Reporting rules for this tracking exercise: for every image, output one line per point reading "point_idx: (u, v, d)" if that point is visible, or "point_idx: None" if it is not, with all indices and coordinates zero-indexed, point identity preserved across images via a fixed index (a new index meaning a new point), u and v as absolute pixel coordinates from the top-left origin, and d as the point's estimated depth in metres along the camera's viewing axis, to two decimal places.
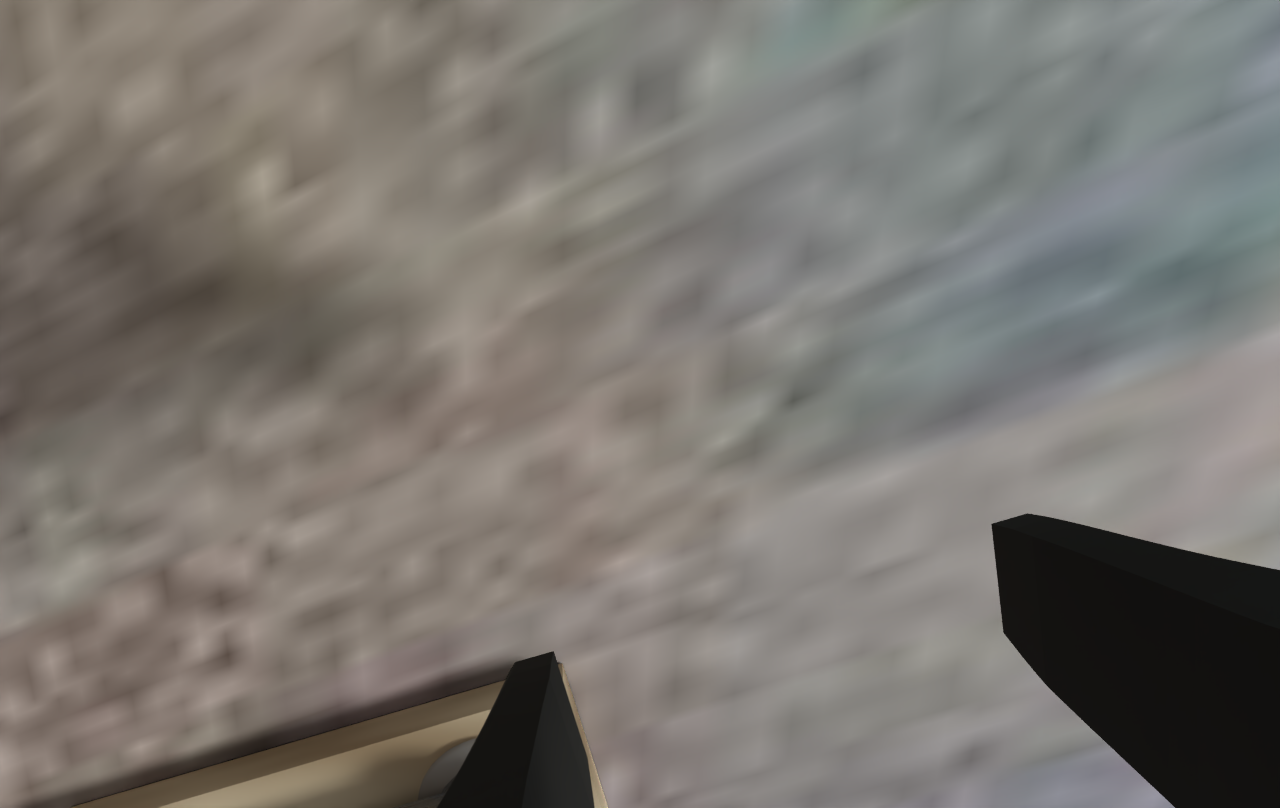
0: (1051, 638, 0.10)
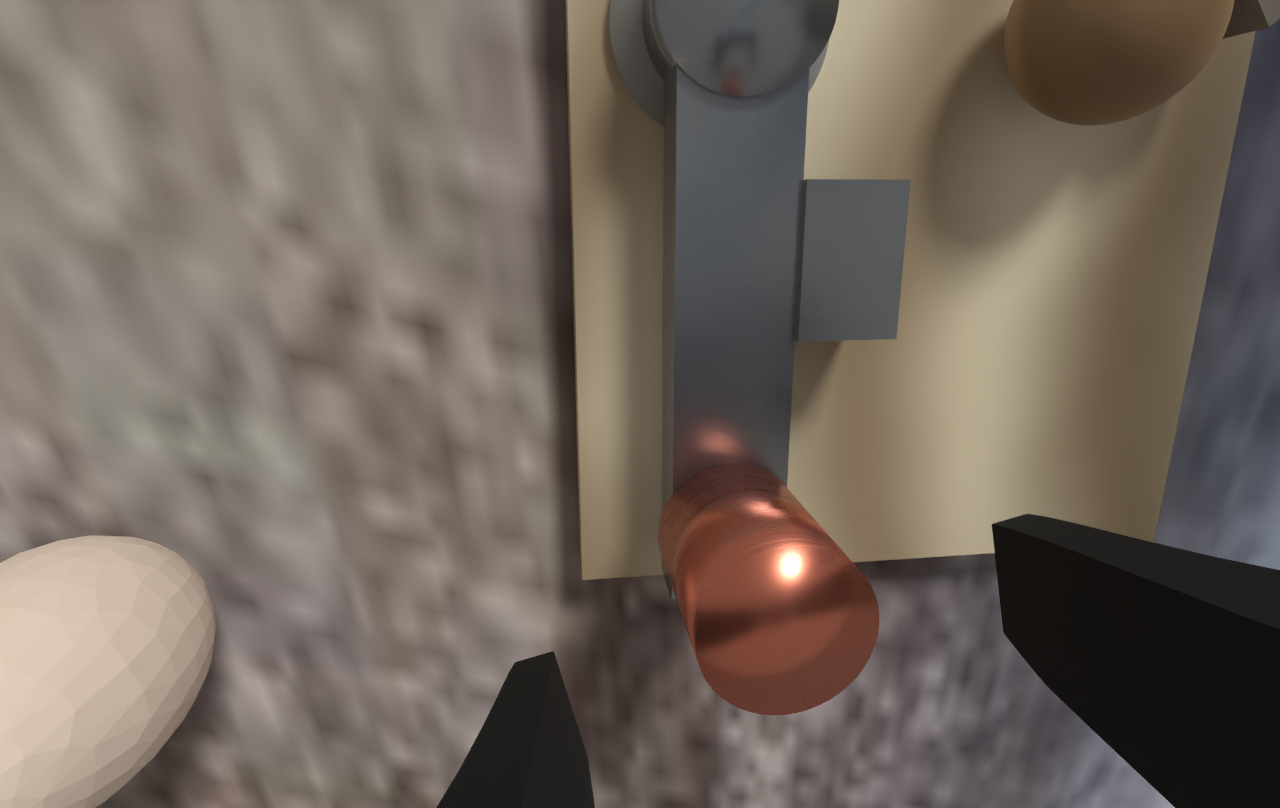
0: (1051, 638, 0.10)
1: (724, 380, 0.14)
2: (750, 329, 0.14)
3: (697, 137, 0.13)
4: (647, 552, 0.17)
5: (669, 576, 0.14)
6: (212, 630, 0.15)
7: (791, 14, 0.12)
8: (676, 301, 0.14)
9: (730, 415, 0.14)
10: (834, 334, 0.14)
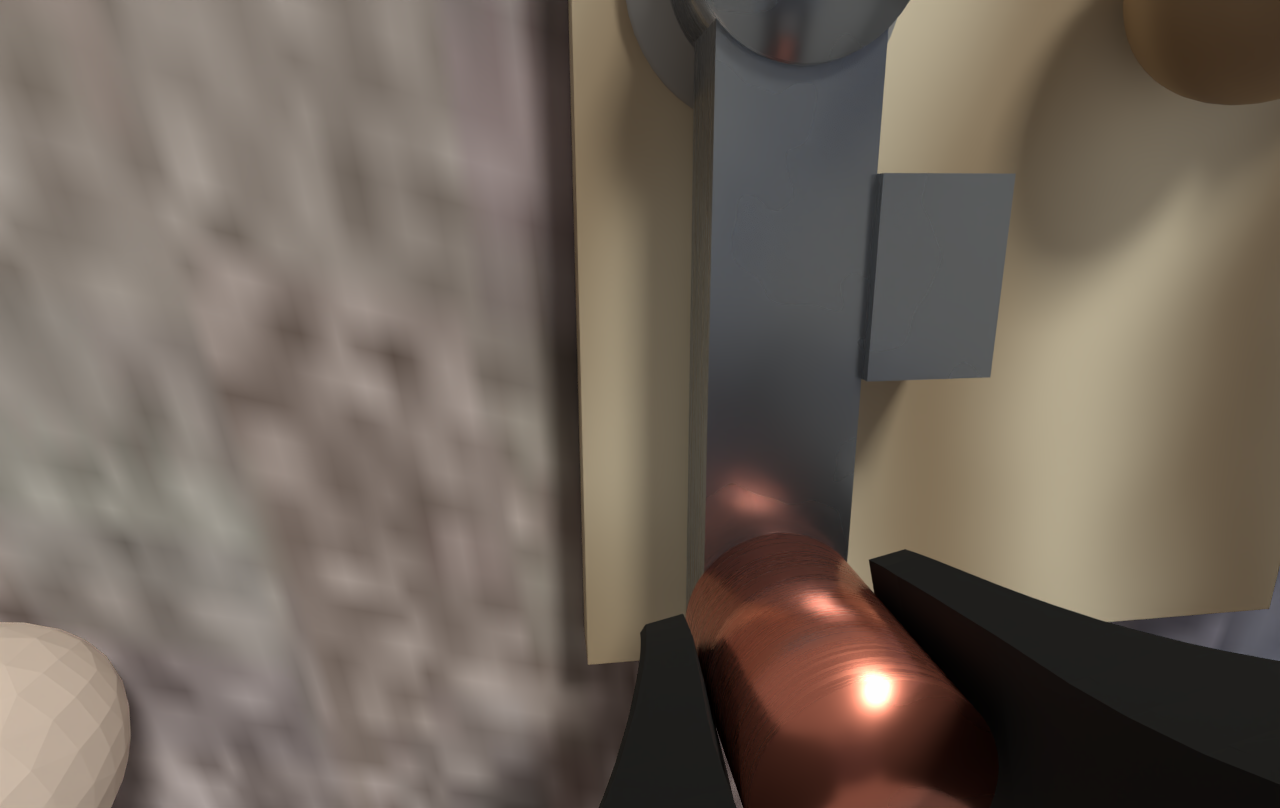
0: None
1: (771, 430, 0.11)
2: (805, 366, 0.11)
3: (741, 118, 0.10)
4: None
5: None
6: (122, 742, 0.12)
7: None
8: (711, 330, 0.11)
9: (778, 474, 0.11)
10: (912, 372, 0.11)
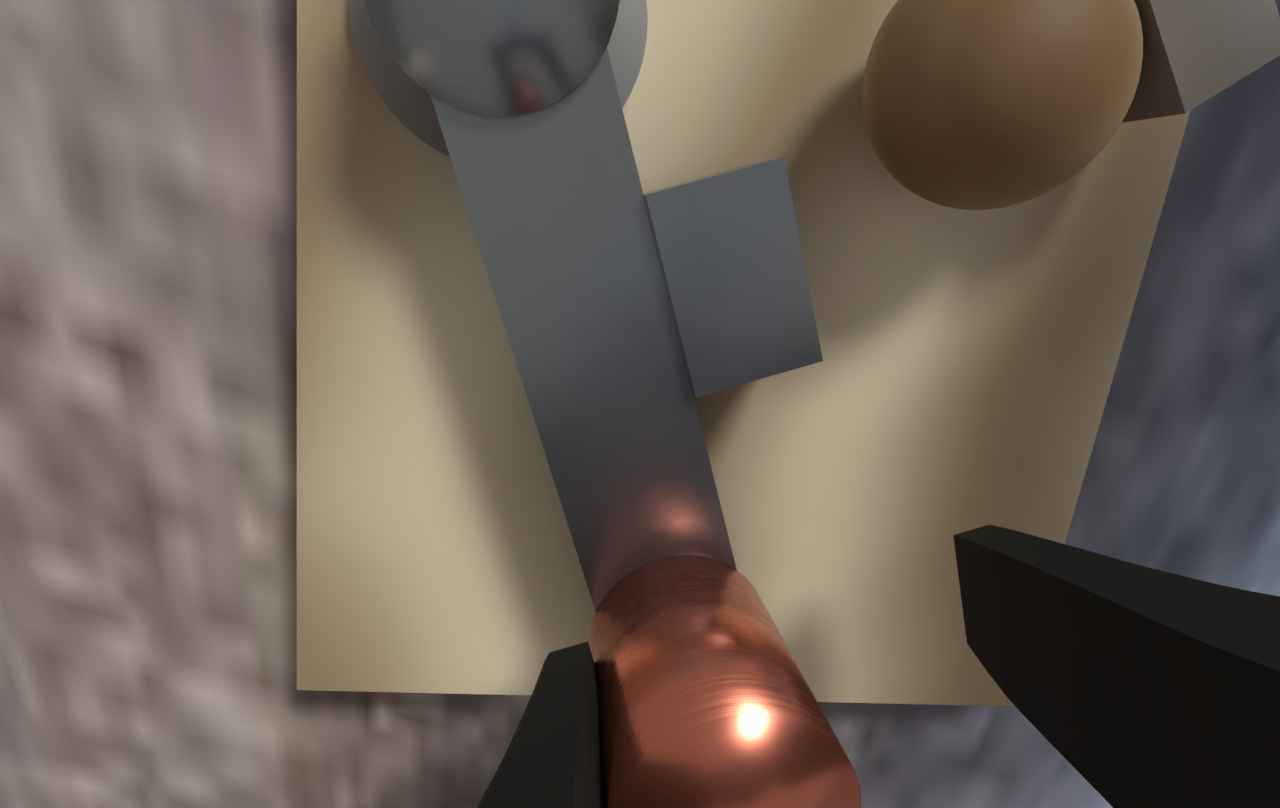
0: (1010, 650, 0.10)
1: (617, 465, 0.11)
2: (632, 397, 0.11)
3: (487, 180, 0.10)
4: (383, 664, 0.14)
5: None
6: None
7: None
8: (526, 389, 0.11)
9: (638, 504, 0.11)
10: (740, 376, 0.11)
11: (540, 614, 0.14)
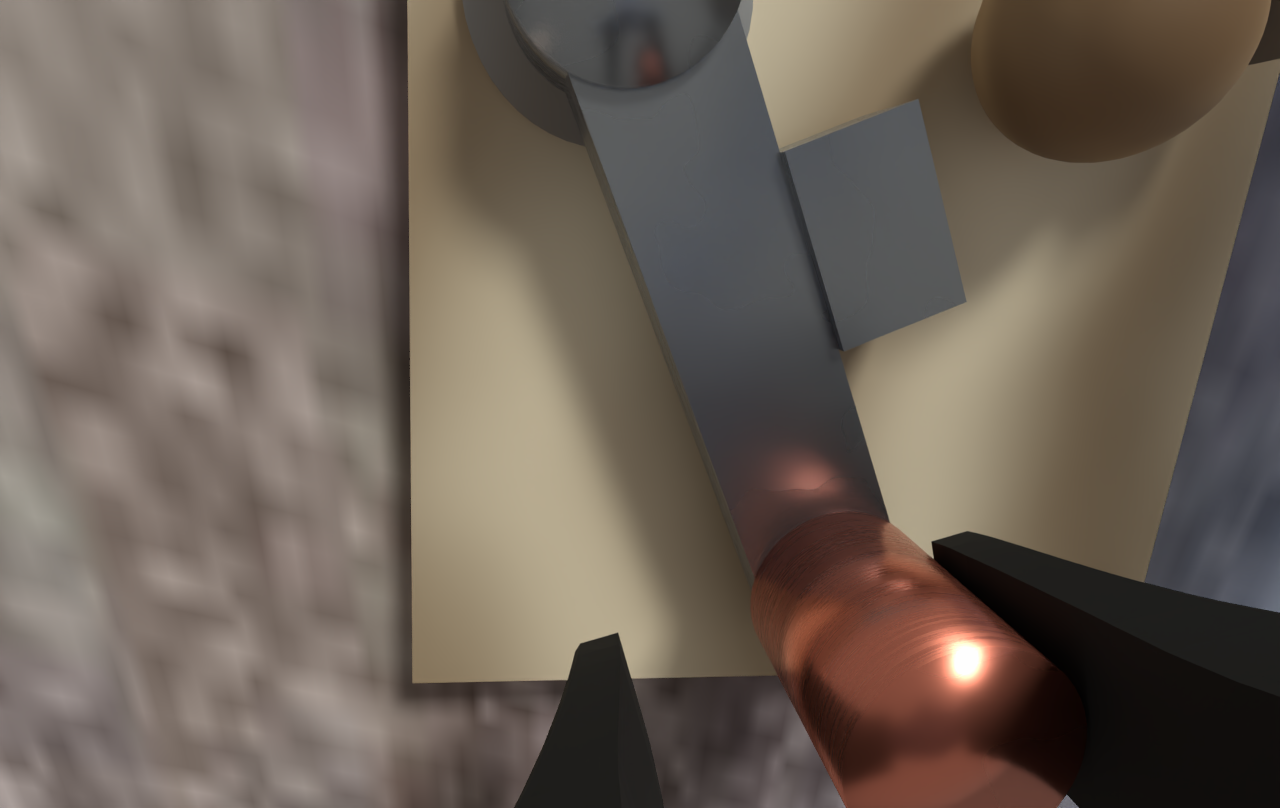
0: None
1: (768, 428, 0.11)
2: (779, 358, 0.11)
3: (627, 153, 0.10)
4: (497, 653, 0.14)
5: (785, 689, 0.11)
6: None
7: None
8: (675, 359, 0.11)
9: (791, 465, 0.11)
10: (886, 325, 0.11)
11: (651, 595, 0.14)
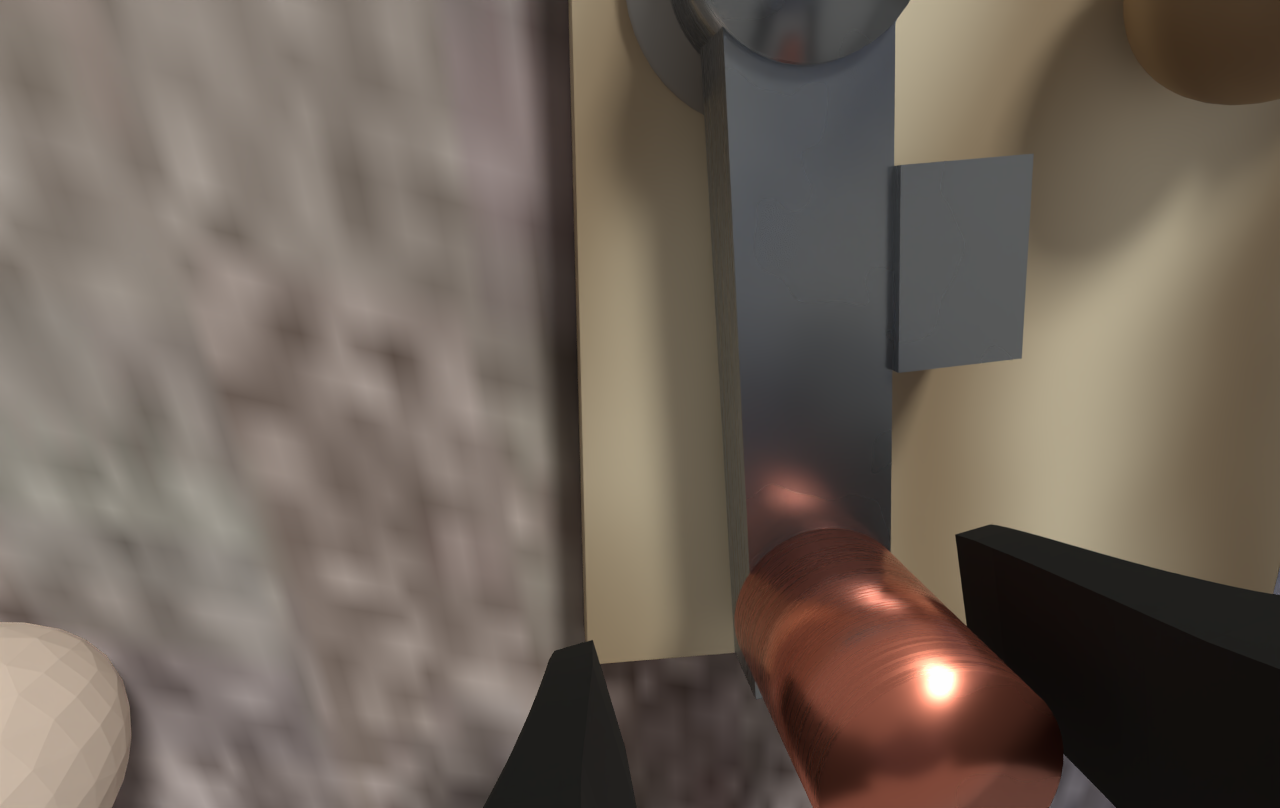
0: (1012, 650, 0.10)
1: (806, 428, 0.11)
2: (835, 362, 0.11)
3: (755, 122, 0.10)
4: (667, 630, 0.14)
5: (758, 685, 0.11)
6: (123, 742, 0.12)
7: None
8: (740, 335, 0.11)
9: (816, 471, 0.11)
10: (943, 359, 0.11)
11: None
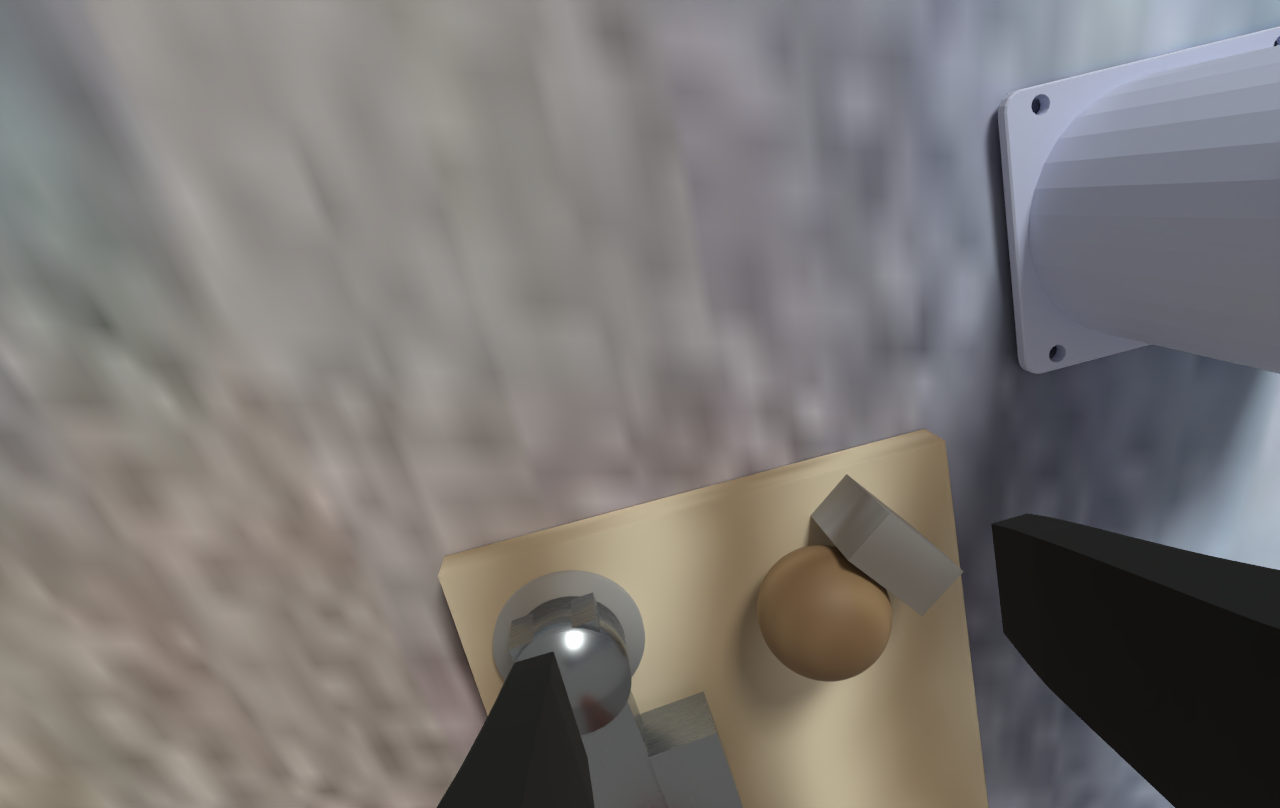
0: (1051, 638, 0.10)
1: None
2: None
3: None
4: None
5: None
6: None
7: (602, 684, 0.19)
8: None
9: None
10: None
11: None
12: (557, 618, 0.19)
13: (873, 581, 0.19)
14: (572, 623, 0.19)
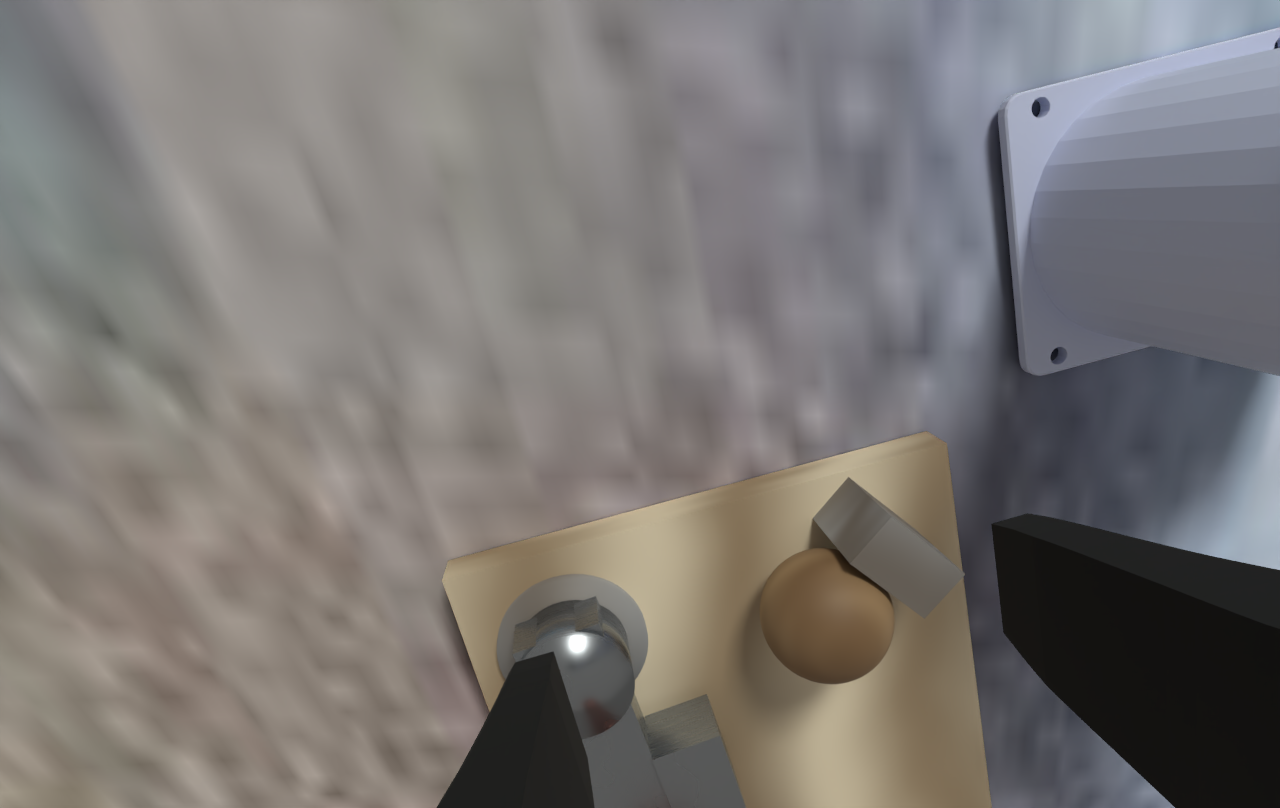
0: (1051, 638, 0.10)
1: None
2: None
3: None
4: None
5: None
6: None
7: (605, 687, 0.19)
8: None
9: None
10: None
11: None
12: (560, 622, 0.19)
13: (875, 584, 0.19)
14: (575, 627, 0.19)
